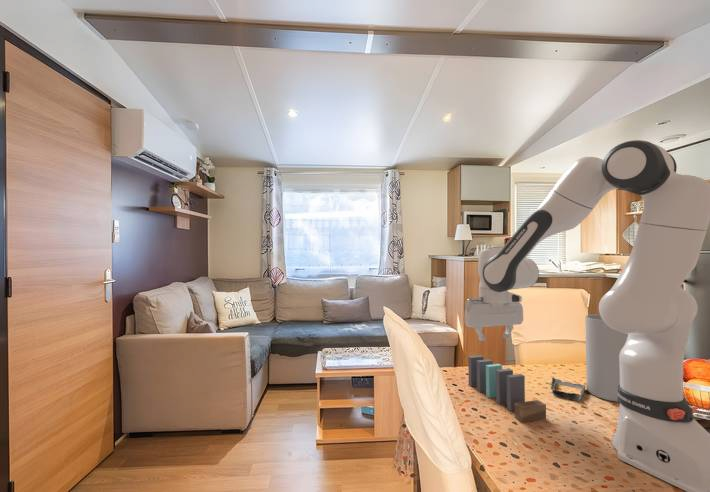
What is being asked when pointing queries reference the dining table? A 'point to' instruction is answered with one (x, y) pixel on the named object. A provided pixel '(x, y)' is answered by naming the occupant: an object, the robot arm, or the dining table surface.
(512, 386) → the domino
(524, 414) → the end block
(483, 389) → the domino
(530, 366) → the dining table surface
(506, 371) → the domino
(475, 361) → the domino
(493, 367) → the teal domino
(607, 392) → the cylinder vase
